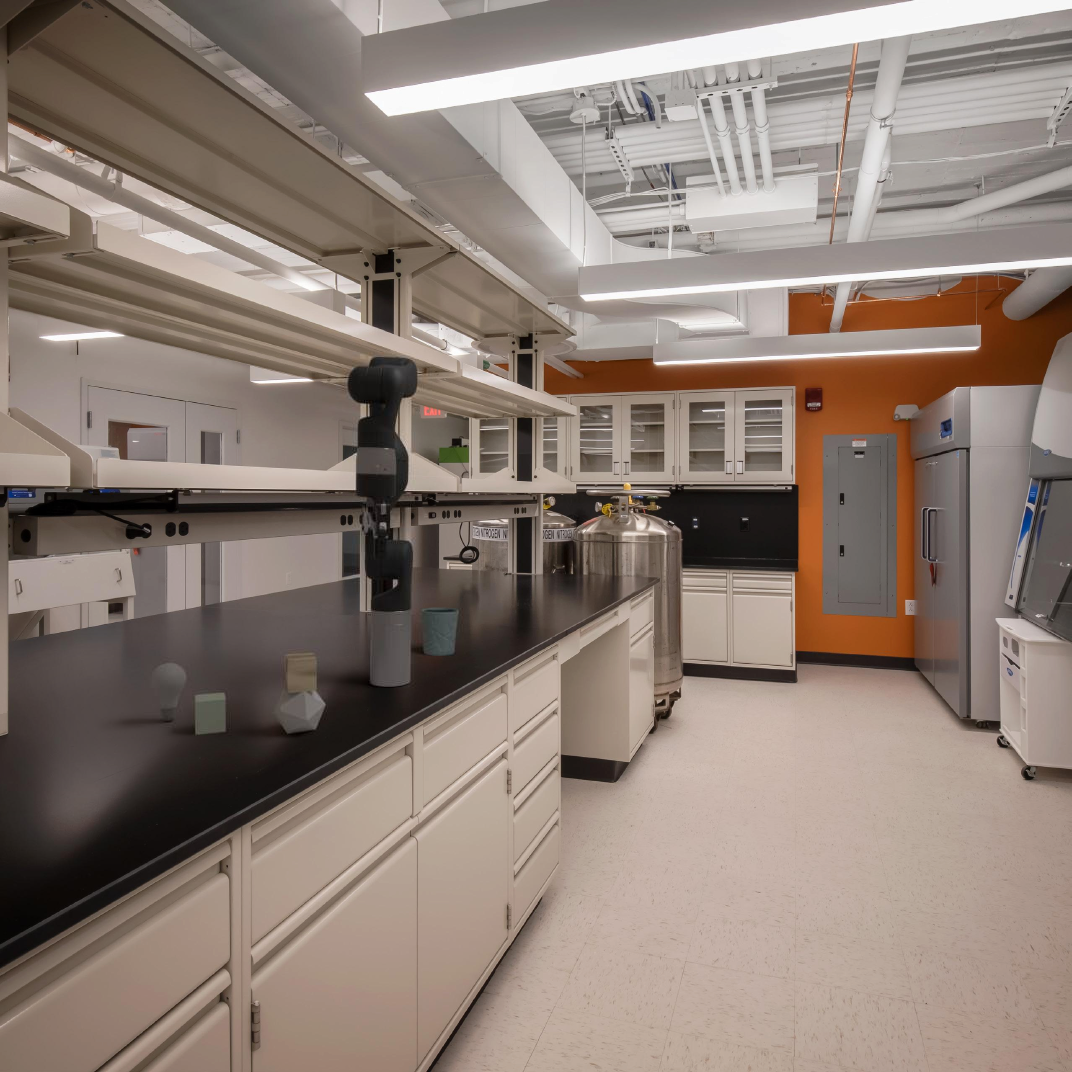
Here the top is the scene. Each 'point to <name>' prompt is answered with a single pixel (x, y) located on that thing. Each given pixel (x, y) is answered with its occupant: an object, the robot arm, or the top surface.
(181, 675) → the lightbulb
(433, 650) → the teal plant pot
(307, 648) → the top surface
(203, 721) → the sage block
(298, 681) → the maple block
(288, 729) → the die
